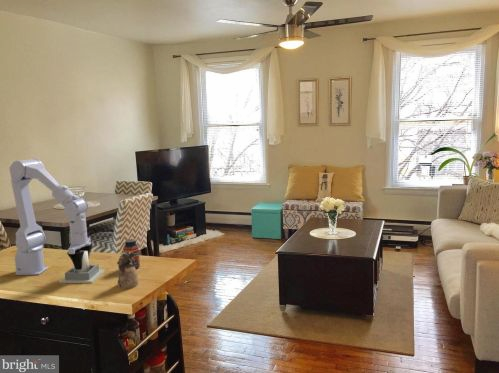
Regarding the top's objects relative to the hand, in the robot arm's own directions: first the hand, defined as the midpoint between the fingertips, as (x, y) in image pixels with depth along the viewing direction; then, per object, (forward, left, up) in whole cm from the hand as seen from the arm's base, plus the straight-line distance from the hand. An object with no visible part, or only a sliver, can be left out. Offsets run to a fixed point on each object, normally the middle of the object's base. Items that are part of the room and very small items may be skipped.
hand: (81, 266), depth 161 cm
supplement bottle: (+16, +9, -4) cm, 19 cm away
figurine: (+20, -8, -4) cm, 22 cm away
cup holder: (0, 0, -4) cm, 4 cm away
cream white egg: (0, 0, -2) cm, 2 cm away
